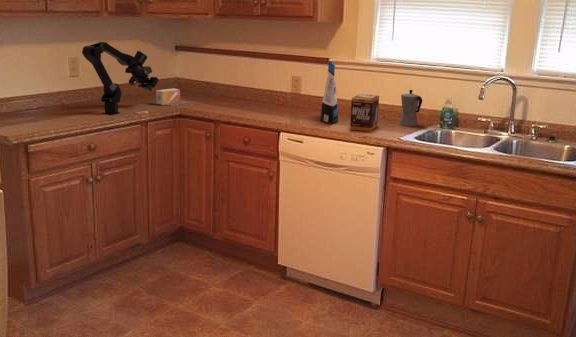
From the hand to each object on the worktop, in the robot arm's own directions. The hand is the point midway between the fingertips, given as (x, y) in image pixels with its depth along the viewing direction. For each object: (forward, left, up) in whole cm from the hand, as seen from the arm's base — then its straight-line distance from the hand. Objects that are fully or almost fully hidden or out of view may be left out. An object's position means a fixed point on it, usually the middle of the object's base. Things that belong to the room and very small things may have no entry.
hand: (151, 90), depth 345 cm
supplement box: (+16, -127, -9) cm, 128 cm away
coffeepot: (+36, -144, -9) cm, 148 cm away
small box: (+5, -1, -5) cm, 7 cm away
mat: (+15, 0, -9) cm, 17 cm away
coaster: (-20, -11, -9) cm, 24 cm away
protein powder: (+23, -104, -9) cm, 107 cm away
